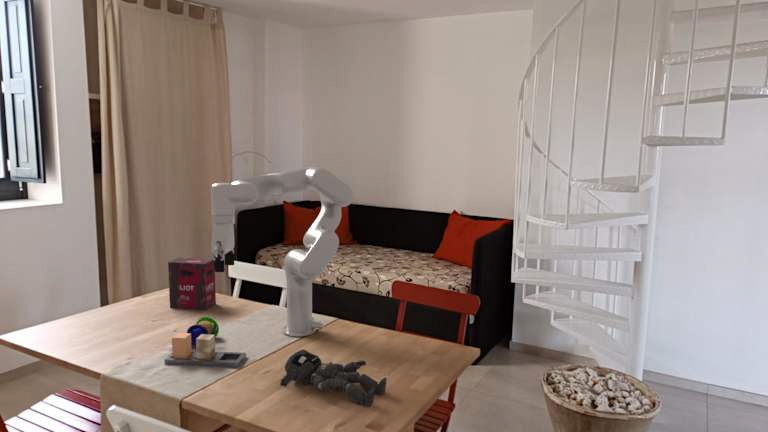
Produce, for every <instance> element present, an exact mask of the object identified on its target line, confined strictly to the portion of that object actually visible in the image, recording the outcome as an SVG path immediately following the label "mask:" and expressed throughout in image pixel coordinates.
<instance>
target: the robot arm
mask: <svg viewBox="0 0 768 432" xmlns="http://www.w3.org/2000/svg"><path fill="white" fill-rule="evenodd" d="M312 190H313V191H317V192H318V193H319V198H320V204H321V207H320V212H319V214H318V216H317V217H316V219H315V220H314V221H313V222H312V224H311V225H310V227H308V230H307V231H306V232H305V233H304V235H303V239H302V241H303V242H302V243H303V245H304V246H305V247H306V249H308V251H306V250H305V249H304V250H303V249H300V248H296V249H292V250H290V251H288V252H287V253H286V255H285V257H284V262H283V264H284V265H283V266H284V267H283V268H284V273H285V281H286V325H284V326H283V327H282V333H283V334H284V335H286V336H290V337H299V338H300V337H306V336H311V335H313V334H314V333H316V331H317V329H323V328H324V323H323V322H322V321H316V320H315V317H313V280H315V279H318V278H319V277H320V276H321V275H322V274H323V272H324V271H325V269H326V268H327V266H328V265H329V264H330V262H331V261H332V259H333V257H334V256H335V255H336V253H337V252H338V248H339V246H340V239H339V236H338V234H337V233H336V230H337V228H338V226H339V225H340V222H341V219H342V214H343V213H342V208H344V207H348V206H349V205H351V204H352V202H353V201H354V198H355V197H354V196H355V195H354V190H353V189H352V187H351V186H350V185H349V184H348V183H346V182H344V181H343V180H342V179H340V178H339V177H338V176H336V175H335V174H333V173H332V172H331V171H329V170H327V169H326V168H323V167H316V166H305V167H300V168H295V169H291V170H285V171H282V172H280V171H279V172H275V173H269V174H263V175H256V176H250V177H246V178H241V179H236V180H233V181H232V182H231V183H229V182H216V183H213V184H212V185H211V186H210V192H211V193H210V194H211V195H210V197H211V199H210V200H211V224H212V230H211V231H212V232H211V253H212V254H213V260H214V263H215V273H224V272H225V266H234V265H235V250H234V249H235V229H234V228H235V227H234V225H235V224H236V211H235V209H236V207H235V204H241V205H252V204H254V203H255V202H257V200H258V199H259V197H265V196H266V197H270V196H271V197H281V196H282V197H284V196H289V195H293V194H296V193H302V192H307V191H312Z"/></svg>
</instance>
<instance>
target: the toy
mask: <svg viewBox="0 0 768 432" xmlns="http://www.w3.org/2000/svg"><path fill="white" fill-rule="evenodd" d="M219 331H220V329H219V324H218V323H217V321H216V320H214V319H213V318H212V317H208V316H204V317H201V318H199V319H198V320H197V322H196V323H195V324H193V325H191V326H189V327H188V329H187V331H186V333H191V347H192V346H194V345H196V339H197V338H198V337H199V336H200V335H201V334H208V335H215V338H216V337H217V336H218V334H219Z"/></svg>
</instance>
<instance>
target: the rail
mask: <svg viewBox="0 0 768 432" xmlns="http://www.w3.org/2000/svg"><path fill="white" fill-rule="evenodd" d="M246 358H247V352H233V351H216V350H215V356H214V357H213V359H212V360H201V359H197V353H196V350H192V354H191V355H190V356H189V357H188V358H187V359H179V358H173V354H172V352H171V353H170V354H169V355H168V356H166V357H165V358H164V364H165V365H177V366H179V365H181V366H202V367H223V368H239V367H240V366H241V365H242V363H243V362H244V361H245V359H246Z"/></svg>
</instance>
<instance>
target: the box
mask: <svg viewBox="0 0 768 432" xmlns="http://www.w3.org/2000/svg"><path fill="white" fill-rule="evenodd" d="M167 264H168V265H167V267H168V269H167V270H168V291H169V308H170V309H180V310H181V309H182V310H194V311H208V310H209V309H210V308H213V307H214V306H215V305H217V303H216V302H217V299H216V298H217V296H216V272H215V263H214V259H210V258H209V259H208V258H191V257H177V258H174V259H172V260H171V261H167Z"/></svg>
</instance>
